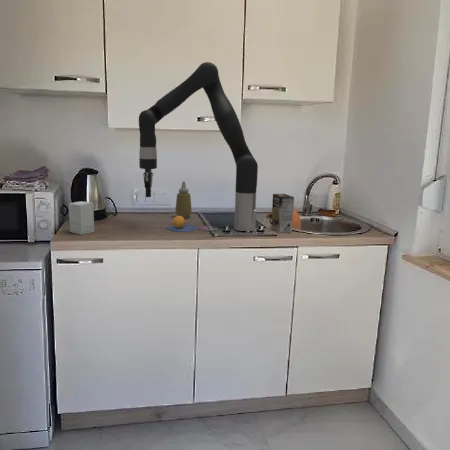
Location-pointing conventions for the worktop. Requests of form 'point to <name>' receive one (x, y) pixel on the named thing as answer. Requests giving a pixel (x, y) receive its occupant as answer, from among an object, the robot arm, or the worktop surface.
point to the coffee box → (282, 212)
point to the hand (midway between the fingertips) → (148, 196)
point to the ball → (178, 221)
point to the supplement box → (81, 217)
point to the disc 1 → (184, 229)
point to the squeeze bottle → (183, 202)
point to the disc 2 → (203, 228)
